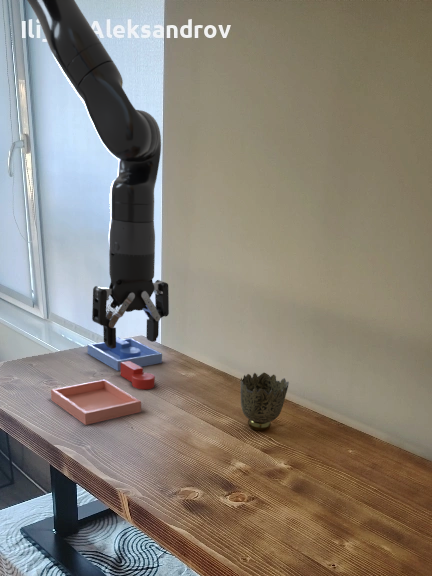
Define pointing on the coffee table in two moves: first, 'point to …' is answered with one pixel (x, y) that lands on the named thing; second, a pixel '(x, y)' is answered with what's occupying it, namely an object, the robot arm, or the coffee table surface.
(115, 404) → the red tray
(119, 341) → the blue rounded block
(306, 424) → the coffee table surface
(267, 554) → the coffee table surface
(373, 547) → the coffee table surface
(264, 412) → the cup
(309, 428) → the coffee table surface
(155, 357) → the blue tray
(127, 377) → the red stepped block
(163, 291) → the robot arm
